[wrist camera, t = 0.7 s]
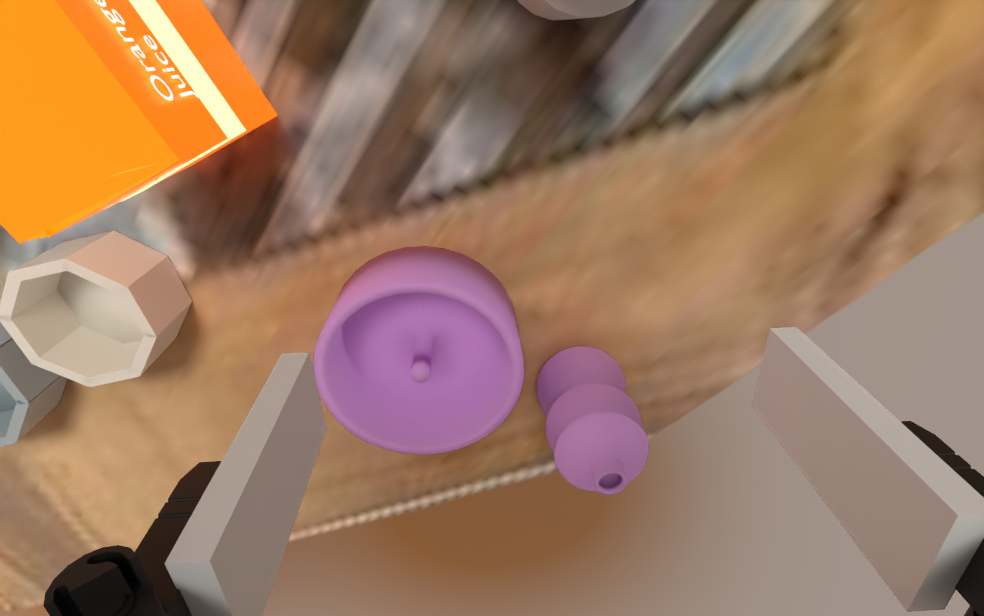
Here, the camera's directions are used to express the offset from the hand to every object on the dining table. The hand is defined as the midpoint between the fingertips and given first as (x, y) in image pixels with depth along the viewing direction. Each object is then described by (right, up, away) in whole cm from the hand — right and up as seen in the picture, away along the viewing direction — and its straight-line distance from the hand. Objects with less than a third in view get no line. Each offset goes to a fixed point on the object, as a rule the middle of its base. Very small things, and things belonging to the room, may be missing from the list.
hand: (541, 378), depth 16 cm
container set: (-2, -1, +30) cm, 31 cm away
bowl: (-30, +3, +26) cm, 40 cm away
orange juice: (-21, +17, +20) cm, 34 cm away
